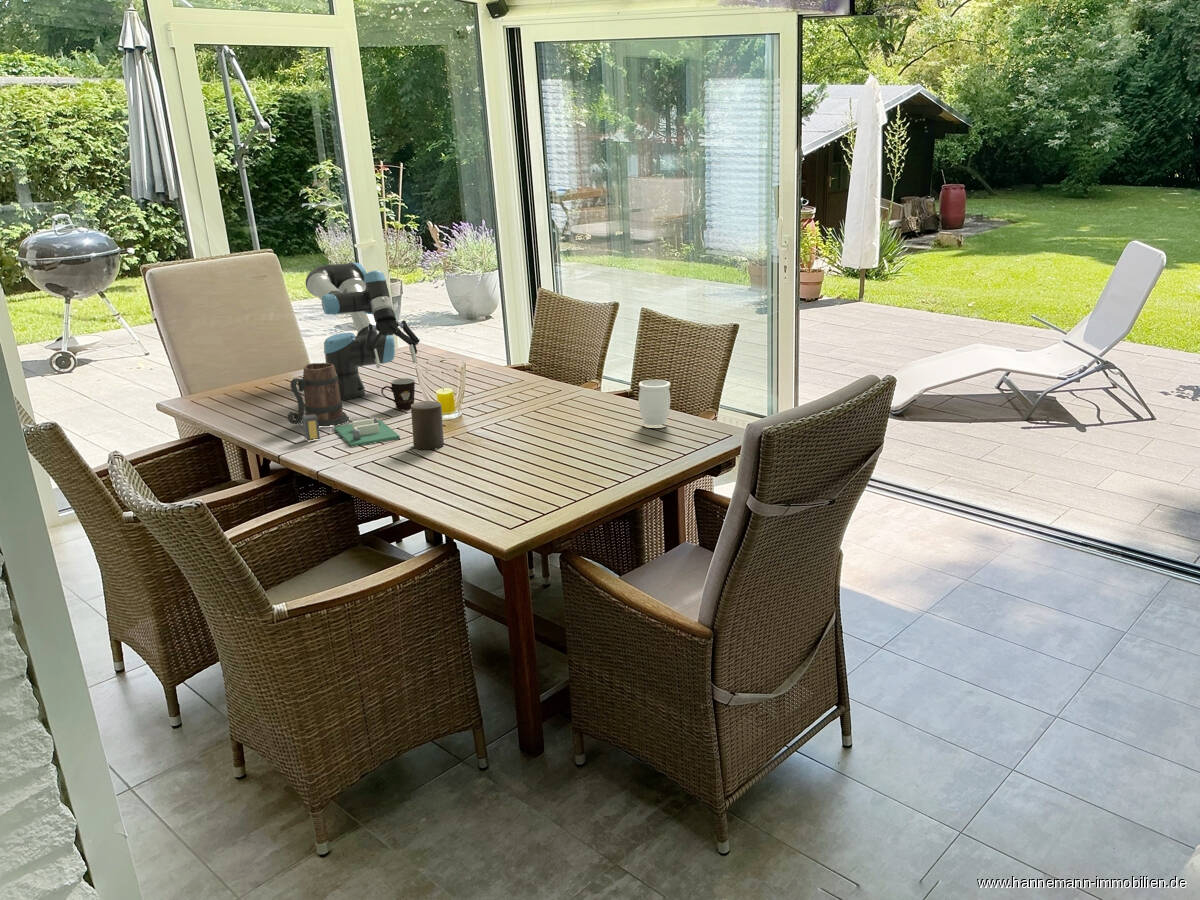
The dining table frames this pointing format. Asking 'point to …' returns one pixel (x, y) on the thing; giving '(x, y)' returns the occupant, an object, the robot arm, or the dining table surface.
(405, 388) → the coffee mug
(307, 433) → the plug
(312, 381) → the tankard
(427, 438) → the pillar candle
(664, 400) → the jar
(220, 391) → the dining table surface
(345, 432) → the board
